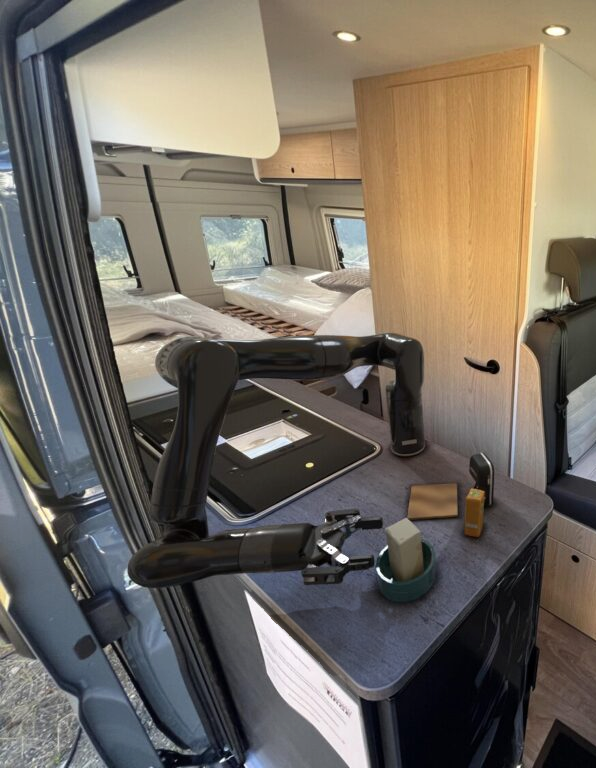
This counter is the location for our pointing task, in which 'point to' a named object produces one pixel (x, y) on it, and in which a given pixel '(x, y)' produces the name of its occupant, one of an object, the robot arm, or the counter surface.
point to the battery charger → (483, 475)
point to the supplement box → (474, 512)
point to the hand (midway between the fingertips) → (378, 540)
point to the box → (405, 550)
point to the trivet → (433, 501)
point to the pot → (406, 588)
